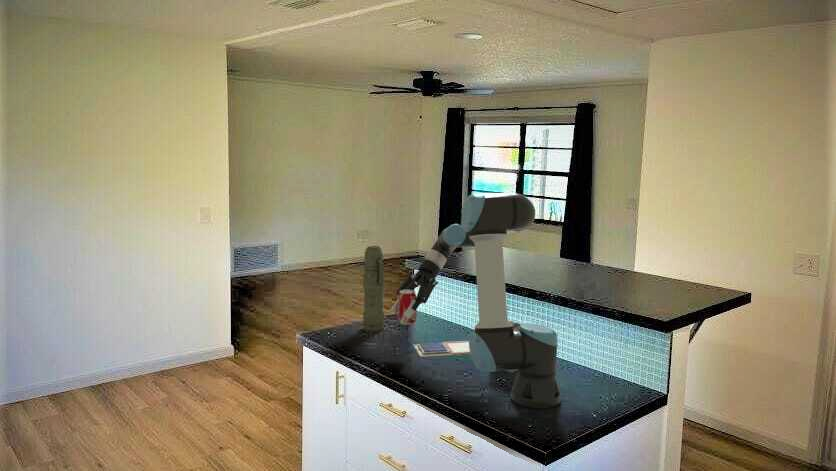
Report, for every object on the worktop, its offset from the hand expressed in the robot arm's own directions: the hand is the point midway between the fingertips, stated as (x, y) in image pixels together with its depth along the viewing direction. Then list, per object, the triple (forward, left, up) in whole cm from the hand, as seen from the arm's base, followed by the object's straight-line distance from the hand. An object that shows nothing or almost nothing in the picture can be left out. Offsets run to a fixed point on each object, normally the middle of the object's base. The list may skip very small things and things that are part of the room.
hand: (399, 314), depth 229 cm
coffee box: (-17, -35, -16) cm, 43 cm away
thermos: (+36, +5, -16) cm, 40 cm away
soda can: (+2, -3, -4) cm, 5 cm away
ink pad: (+4, -14, -15) cm, 21 cm away
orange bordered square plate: (+4, -26, -15) cm, 30 cm away
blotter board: (+4, -20, -16) cm, 26 cm away
